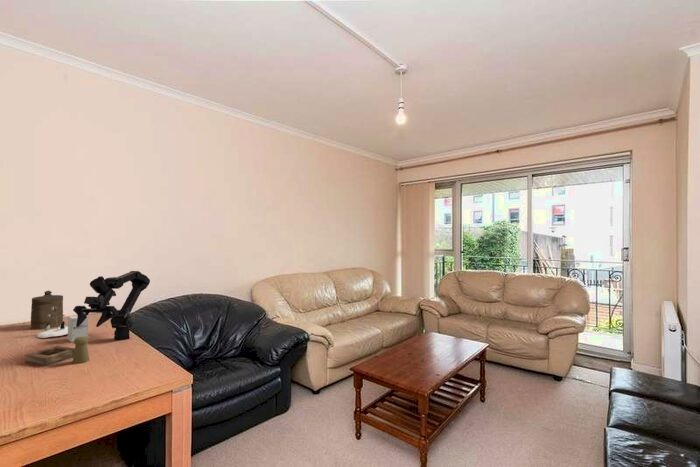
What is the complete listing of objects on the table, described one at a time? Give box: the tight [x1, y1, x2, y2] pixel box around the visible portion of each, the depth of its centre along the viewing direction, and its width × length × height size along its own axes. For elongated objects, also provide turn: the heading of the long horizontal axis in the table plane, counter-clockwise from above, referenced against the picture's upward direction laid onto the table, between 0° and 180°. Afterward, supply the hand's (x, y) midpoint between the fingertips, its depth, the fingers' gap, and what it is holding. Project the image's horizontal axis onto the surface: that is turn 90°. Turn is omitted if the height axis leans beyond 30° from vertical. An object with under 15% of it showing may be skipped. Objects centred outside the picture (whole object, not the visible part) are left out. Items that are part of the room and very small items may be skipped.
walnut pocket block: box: [24, 345, 75, 367], centre depth 153 cm, size 13×13×4 cm
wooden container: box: [30, 290, 64, 330], centre depth 208 cm, size 15×15×22 cm
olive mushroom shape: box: [72, 336, 90, 365], centre depth 151 cm, size 6×6×11 cm
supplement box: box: [67, 315, 89, 343], centre depth 183 cm, size 7×7×13 cm
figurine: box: [36, 307, 68, 339], centre depth 193 cm, size 20×18×16 cm
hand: (86, 326), depth 159 cm, fingers open, 9 cm apart
